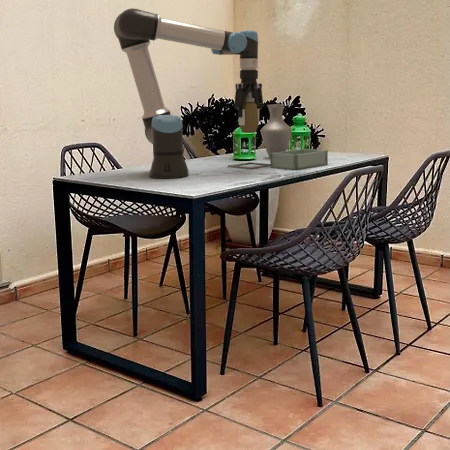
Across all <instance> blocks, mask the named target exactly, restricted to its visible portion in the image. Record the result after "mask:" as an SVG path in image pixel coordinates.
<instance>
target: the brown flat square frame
mask: <svg viewBox="0 0 450 450" xmlns="http://www.w3.org/2000/svg"><path fill="white" fill-rule="evenodd" d="M247 165H256V166H252V167H251V166H247ZM268 166H269V167H271V163H264V162H252V161H249V162H243V163H236V164H231V165H230V164H229V165H227V168H234V169H235V168H236V169H245V170H254V169H255V170H256V169H261V168H262V167H263V168H269V167H268Z"/></svg>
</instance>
